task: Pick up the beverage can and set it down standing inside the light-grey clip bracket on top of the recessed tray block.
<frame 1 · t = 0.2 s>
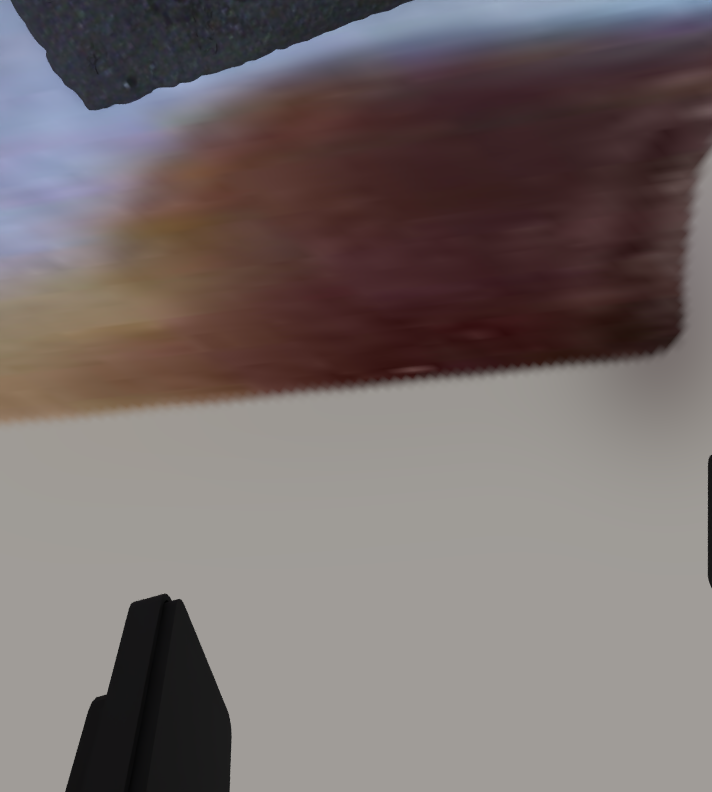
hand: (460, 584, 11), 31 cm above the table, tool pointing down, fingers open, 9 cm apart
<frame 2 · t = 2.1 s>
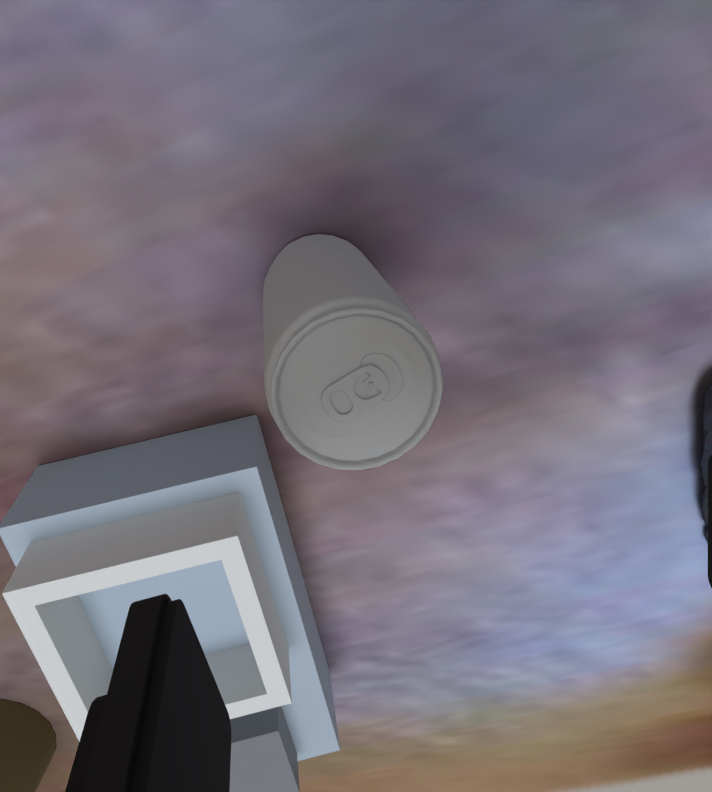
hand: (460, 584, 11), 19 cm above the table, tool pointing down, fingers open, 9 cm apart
recessed tray block: (198, 579, 33), on the table
beverage can: (318, 288, 28), on the table
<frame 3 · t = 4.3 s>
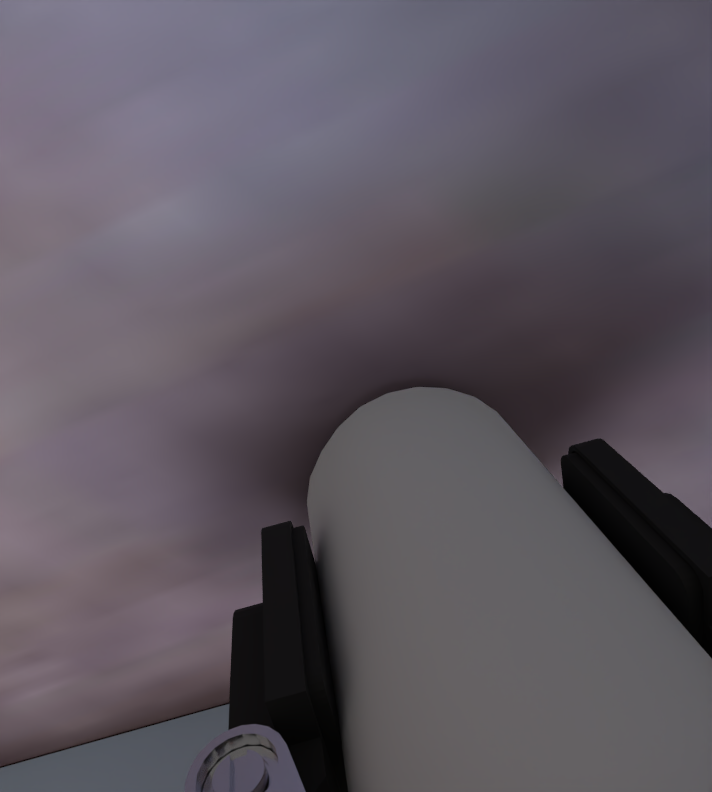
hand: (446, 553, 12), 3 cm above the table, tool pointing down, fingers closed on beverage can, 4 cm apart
beverage can: (409, 472, 15), on the table, touching gripper
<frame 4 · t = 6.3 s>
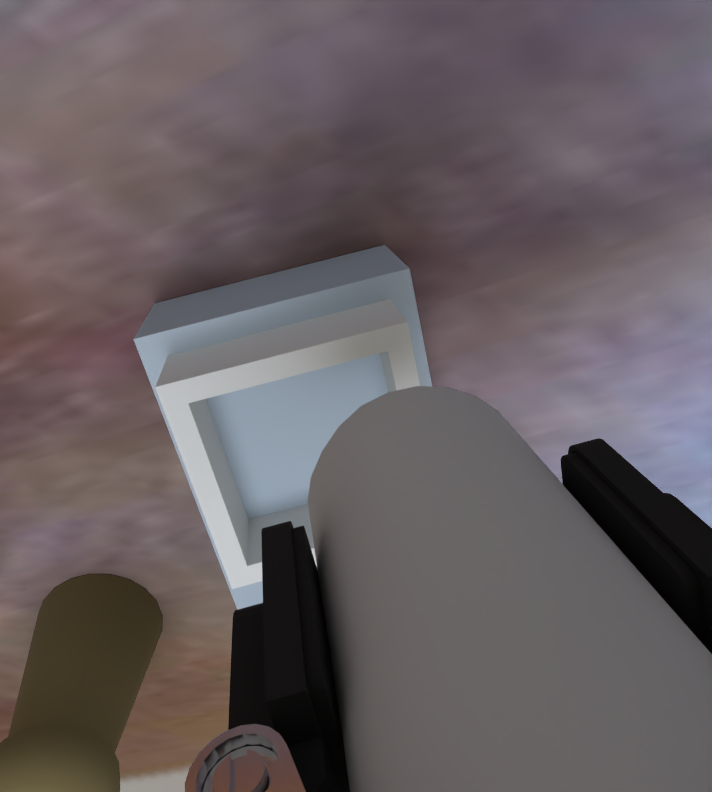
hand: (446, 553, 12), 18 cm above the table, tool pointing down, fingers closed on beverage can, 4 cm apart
cork: (102, 619, 33), on the table
recessed tray block: (316, 437, 31), on the table
beverage can: (410, 471, 15), point 15 cm above the table, touching gripper
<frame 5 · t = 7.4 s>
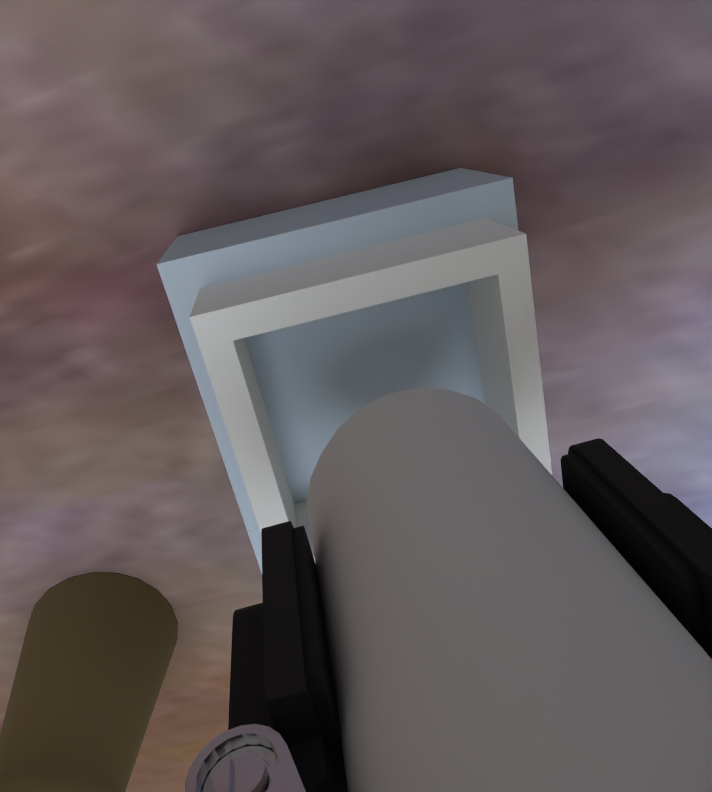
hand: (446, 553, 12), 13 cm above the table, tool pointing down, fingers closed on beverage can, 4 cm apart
cork: (105, 627, 28), on the table
recessed tray block: (367, 408, 26), on the table
beverage can: (409, 473, 15), point 10 cm above the table, touching gripper
when the fingers open (9 cm above the table, at t = 8.5 s): beverage can drops 1 cm, resting on recessed tray block.
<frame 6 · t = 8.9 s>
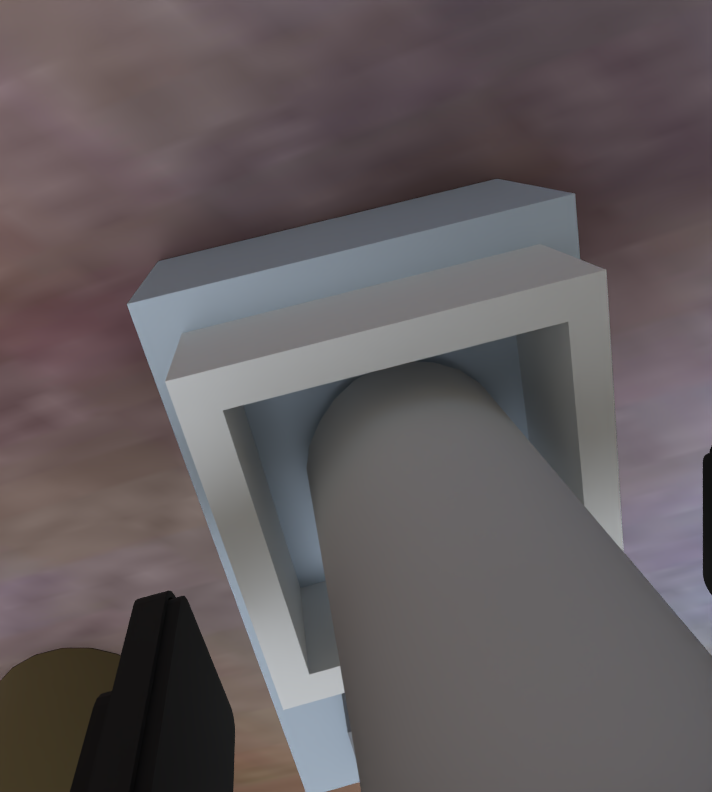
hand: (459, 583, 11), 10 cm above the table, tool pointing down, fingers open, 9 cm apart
cork: (80, 708, 24), on the table
recessed tray block: (384, 458, 22), on the table
beverage can: (400, 440, 16), point 5 cm above the table, touching recessed tray block
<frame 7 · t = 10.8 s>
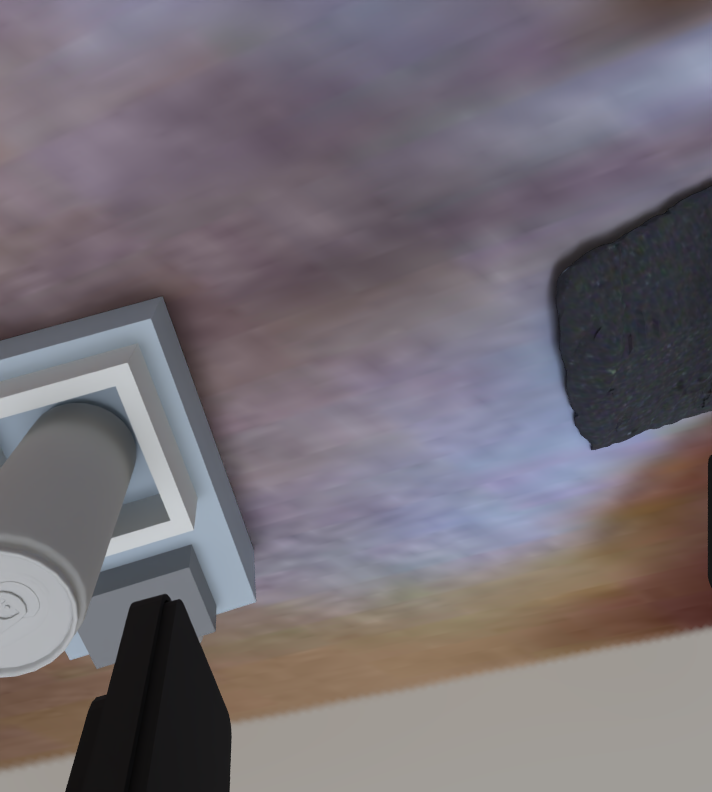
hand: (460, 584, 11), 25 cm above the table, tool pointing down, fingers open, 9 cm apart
recessed tray block: (123, 459, 36), on the table
beverage can: (85, 445, 30), point 5 cm above the table, touching recessed tray block
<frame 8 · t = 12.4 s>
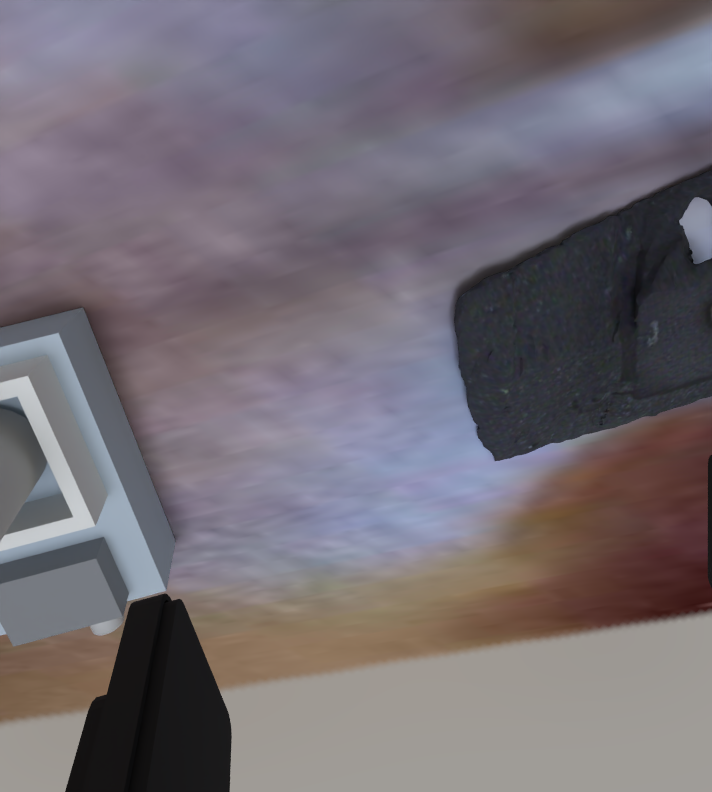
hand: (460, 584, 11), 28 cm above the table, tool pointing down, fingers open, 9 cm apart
recessed tray block: (50, 454, 39), on the table
beverage can: (2, 444, 33), point 5 cm above the table, touching recessed tray block
dark slate chunk: (615, 315, 42), on the table
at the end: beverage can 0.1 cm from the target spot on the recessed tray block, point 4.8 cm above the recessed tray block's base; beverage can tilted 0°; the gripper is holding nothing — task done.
